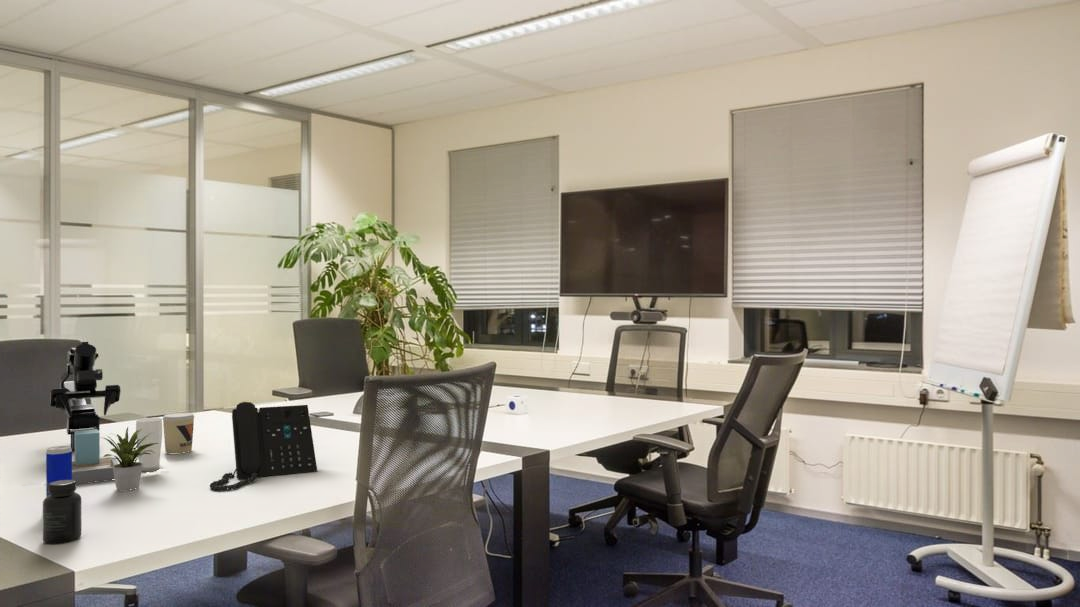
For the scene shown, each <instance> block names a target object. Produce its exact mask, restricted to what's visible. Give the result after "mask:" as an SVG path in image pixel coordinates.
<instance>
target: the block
mask: <svg viewBox="0 0 1080 607" xmlns="http://www.w3.org/2000/svg"><path fill="white" fill-rule="evenodd" d="M99 437H100V430H99V431H98V429H94V430H82V431H75V452H74V461H75V465H76V466H77V465H87V464H96V463H100V459H101V458H100V455H101V454H100V448H101V446H100V439H101V437H100V438H99Z"/></svg>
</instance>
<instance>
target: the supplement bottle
mask: <svg viewBox="0 0 1080 607" xmlns="http://www.w3.org/2000/svg"><path fill="white" fill-rule="evenodd" d="M76 490H77V484H76V481H75V480H60V481H55V482H51V483H49V490H48V493H50V495H49V496H47V497H45V498H44V500H43V501H42V541H43V543H44V544H46V545H61V544H62V545H63V544H68V543H71V542H74V541H77V540H79V539H80V538H81V537H82V529H83V528H82V525H83V524H82V496H81V494H79V493H78V492H75V491H76Z"/></svg>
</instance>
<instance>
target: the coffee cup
mask: <svg viewBox="0 0 1080 607" xmlns="http://www.w3.org/2000/svg"><path fill="white" fill-rule="evenodd" d="M194 420H195V415H194V413H192V412H174V413H166V414H164V415H163V417H162V427H163V437H164V438H163V439H164V448H165V449H164V450H165V453H166V452H167V453H166V454H168V453H181V454H184V453H183V452H187V453H189V452H188V451H190V452H192V451H193V450H192V449H193V440H194V439H193V438H194V422H195V421H194Z"/></svg>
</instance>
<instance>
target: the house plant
mask: <svg viewBox="0 0 1080 607" xmlns="http://www.w3.org/2000/svg"><path fill="white" fill-rule="evenodd" d="M140 431H141V430H137V431H136V430H135V431H134V432H133V434H132V436H131V437H130V439H129V433H128V432H129V426H127V428H126V430H125V436H124V438H122V436H121V435H119V434H118V433H116V434H114V436H115V437H117V438H118V441H119V442H117V443H116V442H115V441H114V440H113V438H111V437H110V436H109V435H108V436H107V435H106V434H105V437H103V439H104V440H106V441H107V442H109V443H110V445H111V446H112V447H113V448H111V449H110V452H113V453H114V454H116V455H117V456H116V455H113V454H110V453H106V454H104V455H103V458H106V459H109V458H110V457H111V456H113V458H114V459H116V461H117V462H118V464H116V465H113V466H111V467H112V468H113V473H114V478H115V480H114V482H115V488H116V491H118V490H129V491H131V490H130V489H134V490H136V489H135V488H137V489H139V488H138V487H140V483H141V477H142V473H143V472H142V470H143V468H142V466H143V463H140V462H139V461H138V456H140V455H141V456H142V455H143V454H150V453H145V452H146V451H151V450H146V451H143V452H144V453H143V452H141V451H142V450H143V449H145V448H147V447H149V446H152V445H154V444H158V443H150V444H146V445H143V446H138V445H139V444H140V443H141V442H142V441H143V440H144V439H145V438H146V437H147V436H148V435H150V434H152V433H150V434H148V435H147V436H145V437H144V438H143V439H142V440H141V439H139V440H141V441H140V442H139V443H138V444H137V442H138V441H139V440H138V441H137V434H138V433H139V432H140ZM153 433H154V432H153ZM108 434H110V435H112V433H108ZM106 436H107V438H106ZM148 437H150V436H148ZM99 438H100V439H101V437H99ZM108 438H109V439H108ZM138 447H139V448H138ZM137 448H138V449H137ZM151 452H153V451H151ZM141 453H142V454H141ZM150 455H151V454H150ZM141 456H140V457H141Z"/></svg>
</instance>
